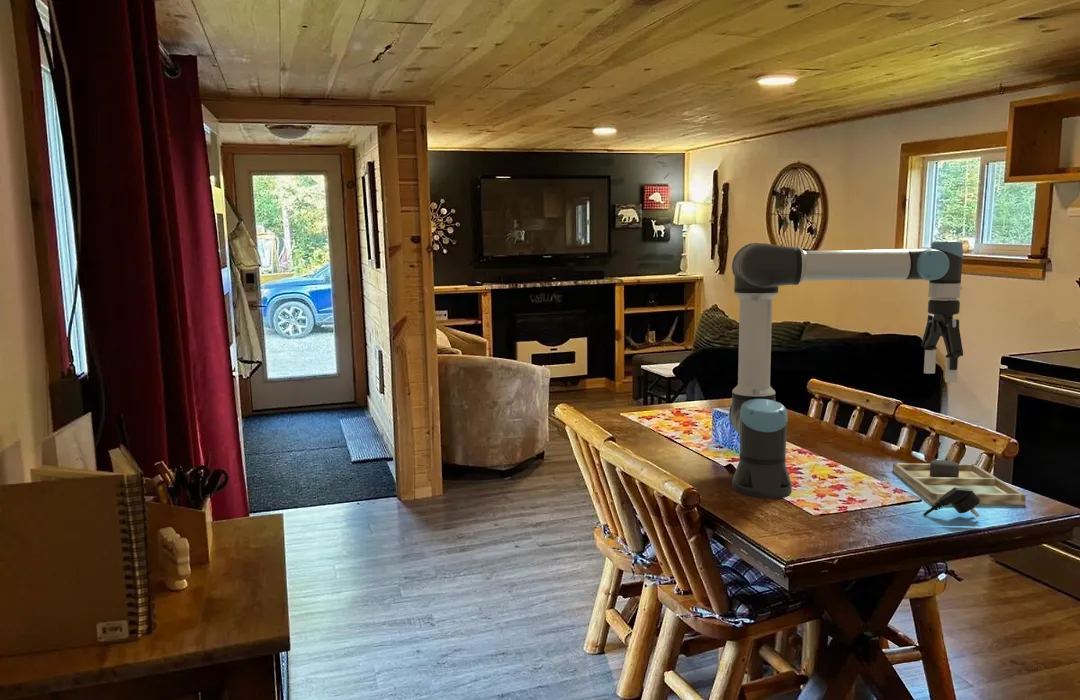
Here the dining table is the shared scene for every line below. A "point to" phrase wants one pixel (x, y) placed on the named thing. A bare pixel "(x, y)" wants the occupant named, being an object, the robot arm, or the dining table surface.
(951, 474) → the dark gray rounded block
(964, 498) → the power plug
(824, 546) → the dining table surface
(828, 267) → the robot arm
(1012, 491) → the organizer
